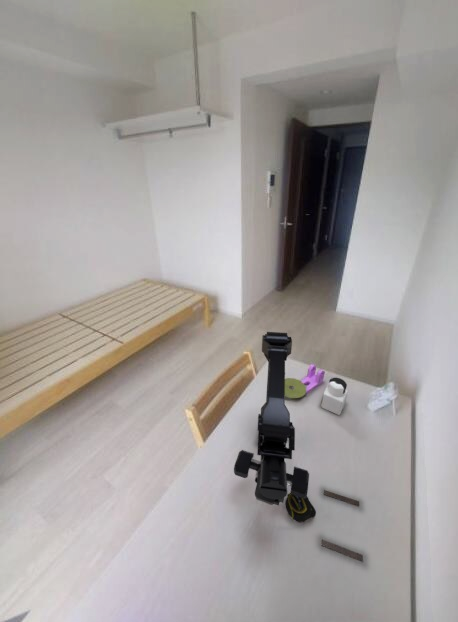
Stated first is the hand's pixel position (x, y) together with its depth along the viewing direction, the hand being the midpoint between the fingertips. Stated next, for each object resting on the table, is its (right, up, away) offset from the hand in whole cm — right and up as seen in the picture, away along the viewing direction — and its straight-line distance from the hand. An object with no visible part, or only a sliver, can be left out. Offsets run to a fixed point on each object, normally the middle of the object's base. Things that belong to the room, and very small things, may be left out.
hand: (269, 490), depth 74 cm
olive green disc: (+15, +17, +36) cm, 42 cm away
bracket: (+22, +18, +39) cm, 49 cm away
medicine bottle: (+29, +13, +30) cm, 43 cm away
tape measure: (+8, -4, -1) cm, 9 cm away
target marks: (+17, -5, -4) cm, 19 cm away
